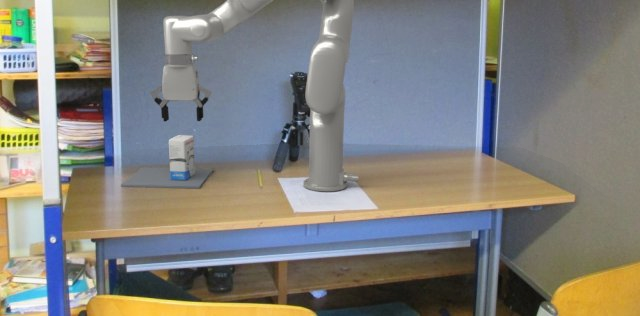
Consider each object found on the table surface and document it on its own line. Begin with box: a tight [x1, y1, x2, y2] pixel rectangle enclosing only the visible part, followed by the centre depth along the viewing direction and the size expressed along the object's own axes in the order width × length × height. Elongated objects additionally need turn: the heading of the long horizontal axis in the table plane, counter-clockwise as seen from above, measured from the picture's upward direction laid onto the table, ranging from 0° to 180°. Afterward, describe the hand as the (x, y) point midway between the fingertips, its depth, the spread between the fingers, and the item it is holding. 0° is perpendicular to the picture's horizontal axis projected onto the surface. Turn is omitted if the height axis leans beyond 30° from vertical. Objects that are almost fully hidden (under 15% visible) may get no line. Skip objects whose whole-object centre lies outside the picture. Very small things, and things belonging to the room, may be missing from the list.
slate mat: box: [120, 166, 214, 190], centre depth 192 cm, size 22×20×1 cm
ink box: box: [168, 134, 196, 180], centre depth 190 cm, size 9×5×12 cm, turn 172°
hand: (182, 120), depth 188 cm, fingers open, 9 cm apart
